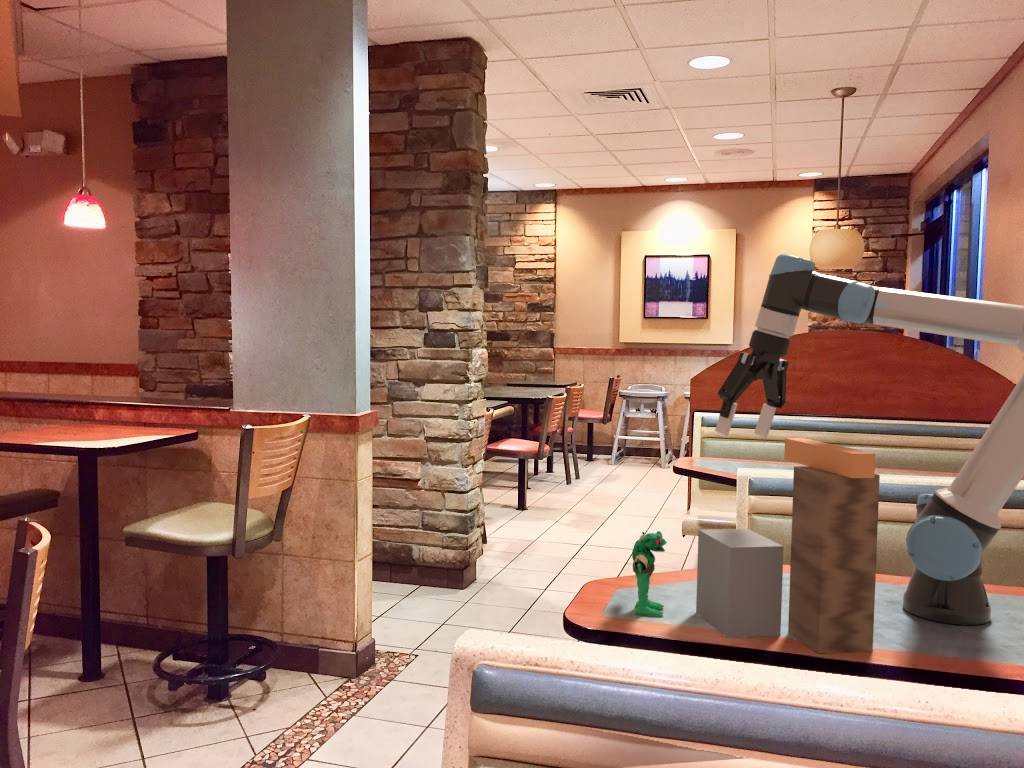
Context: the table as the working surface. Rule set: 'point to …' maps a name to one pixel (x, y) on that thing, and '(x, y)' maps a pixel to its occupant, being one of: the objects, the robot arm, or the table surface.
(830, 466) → the orange rectangular bar
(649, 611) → the toy
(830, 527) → the post
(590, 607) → the table surface
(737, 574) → the grey upright cuboid
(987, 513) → the robot arm
